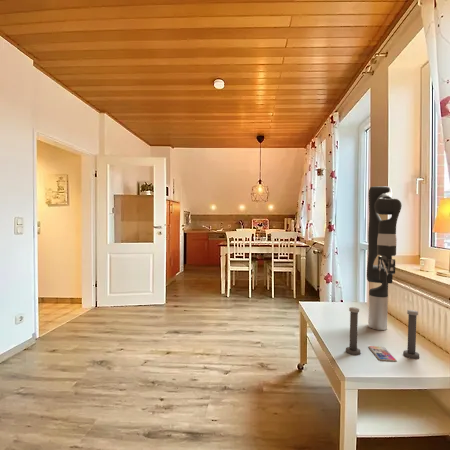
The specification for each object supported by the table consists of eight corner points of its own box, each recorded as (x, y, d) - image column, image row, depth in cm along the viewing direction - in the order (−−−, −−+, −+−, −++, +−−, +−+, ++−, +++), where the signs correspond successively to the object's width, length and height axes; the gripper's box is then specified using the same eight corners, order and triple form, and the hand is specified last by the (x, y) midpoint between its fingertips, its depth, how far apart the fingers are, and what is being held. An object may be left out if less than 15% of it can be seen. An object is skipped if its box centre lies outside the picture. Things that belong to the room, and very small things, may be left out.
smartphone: (384, 346, 153) (397, 360, 138) (384, 348, 153) (397, 363, 138) (367, 345, 154) (379, 359, 139) (367, 347, 154) (378, 361, 139)
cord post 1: (344, 349, 151) (345, 306, 150) (358, 350, 150) (359, 307, 150) (347, 354, 145) (348, 310, 145) (362, 355, 144) (363, 310, 144)
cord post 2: (401, 352, 148) (402, 308, 148) (415, 353, 148) (416, 309, 147) (406, 358, 142) (408, 312, 142) (421, 359, 142) (423, 313, 141)
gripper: (372, 243, 155) (371, 278, 155) (383, 245, 141) (382, 284, 141) (389, 243, 154) (388, 279, 154) (402, 245, 140) (401, 284, 140)
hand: (385, 281), depth 148 cm, fingers open, 8 cm apart
